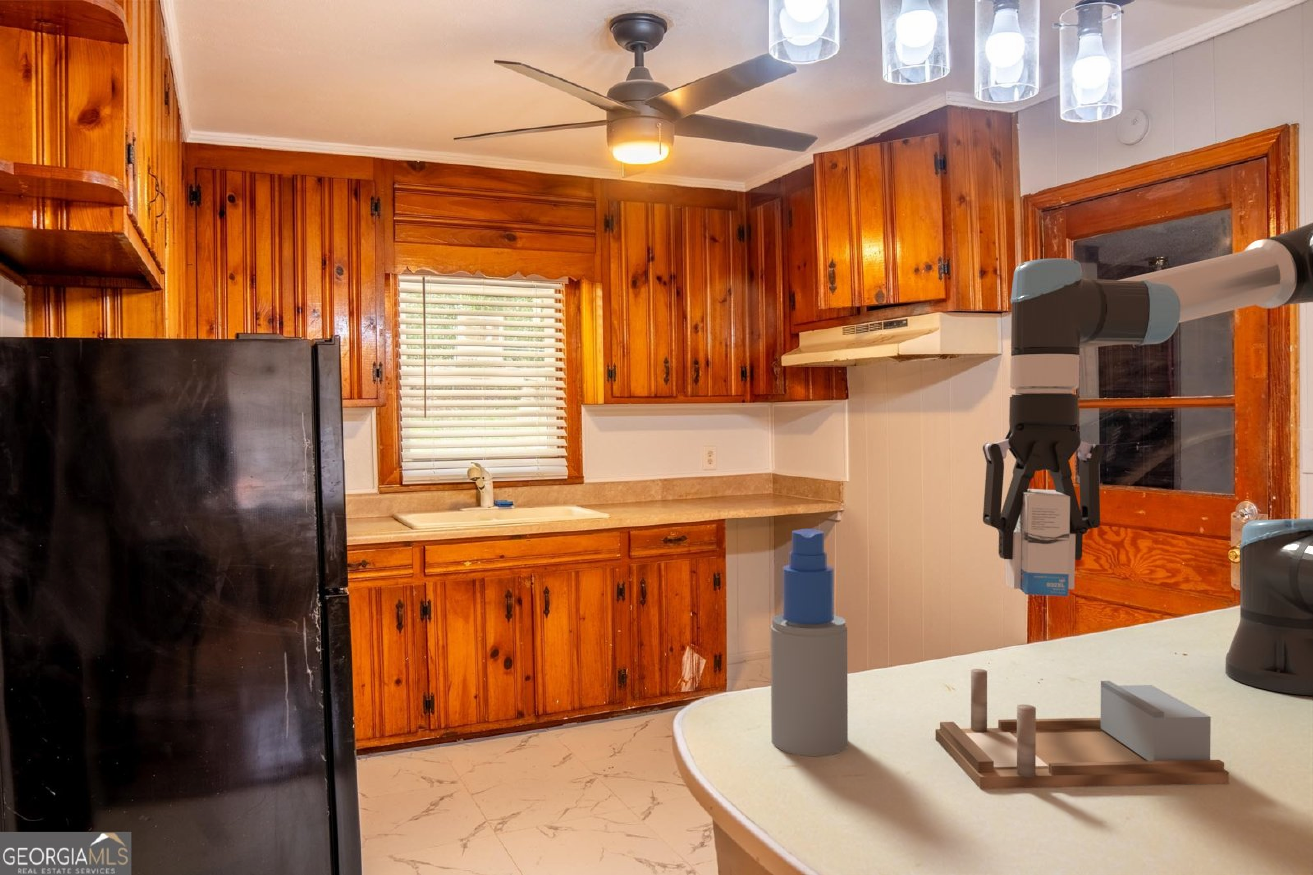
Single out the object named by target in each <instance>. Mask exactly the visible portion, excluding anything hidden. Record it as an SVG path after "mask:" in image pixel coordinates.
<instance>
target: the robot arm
mask: <svg viewBox="0 0 1313 875" xmlns="http://www.w3.org/2000/svg"><path fill="white" fill-rule="evenodd" d="M1011 285H1012V288H1011V295H1010V296H1011V297H1010V304H1011V316H1010V317H1011V322H1010V323H1011V330H1010V338H1011V339H1010V342H1011V344H1010V350H1011V352H1010V379H1009V380H1010V381H1009V382H1010V383H1009V386H1010V388H1011V389H1012V390H1014V391H1015V394H1011V396H1009V409H1008V410H1009V411H1008V412H1009V415H1008V417H1009V418H1008V419H1009V420H1008V424H1009V429H1008V432H1007V434H1006V436H1005V438H1004V439H1003V440H999V441H996V442H993V443H992V442H985V443H984V444H983V446H982V451H983V455H984V458H985V462H986V468H985V480H984V482H985V484H984V497H983V510H982V511H983V513H982V522H983V523H984V524H985V525H987V526H990V527H992V528H994V529H996V530H997V531H998V556H999V558H1000V559H1004V560H1005V580H1004V582H1005V585H1006V586H1007V587H1010V588H1012V589H1015V590H1016V589H1019V590H1021V589H1020V586H1021V542H1022V534H1021V533H1018V532H1015V531H1014V530H1015V528H1016V525H1017V522H1018V519H1019V516H1020V512H1021V509H1022V506H1023V492H1027V490H1028V489H1029V487H1030V484H1031V481H1032V480H1033V478H1034V476H1035V473H1036V472H1040V471H1044V470H1045V471H1048V473H1049V476H1050V477H1051V478H1052V481H1053V485H1054V490H1056V492H1060V493H1063V494H1065V495H1067V496H1070V532H1069V588H1068V590H1075V574H1076V573H1075V570H1076V561H1081V559H1082V557H1083V544H1084V543H1083V542H1084V540H1083V539H1084V537H1083V536H1084V535H1086V534H1087V533H1088V532H1089V530H1091V529H1098V528H1100V527H1099V526H1101V506H1100V505H1101V504H1100V503H1101V502H1100V501H1101V500H1100V499H1101V498H1100V497H1101V495H1100V463H1101V459H1102V456H1103V453H1104V451H1105V450H1104V447H1103V445H1101V444H1096V443H1095V444H1093V443H1089V442H1085V441H1082V440H1081V437H1080V435H1079V432H1078V429H1077V428H1078V424H1079V397H1078V396H1077V395H1078V394H1074V390H1078V388H1079V387H1080V349H1086V348H1096V347H1097V348H1098V347H1106V346H1107V347H1108V346H1115V345H1116V346H1117V345H1136V346H1144V345H1158V344H1162V343H1164V342H1165V341H1167V340H1168V339H1170V338H1171V337H1172V336H1173V334H1174V333H1175V332H1176V330H1177V328H1178V325H1179V324H1181V323H1184V322H1188V321H1192V320H1193V321H1194V320H1197V319H1201V318H1205V317H1209V316H1212V315H1213V316H1214V315H1217V314H1223V313H1225V312H1230V311H1231V312H1232V311H1234V310H1239V309H1244V308H1247V307H1252V306H1257V307H1259V308H1263V309H1274V308H1275V309H1276V308H1279V307H1282V306H1288V305H1297V304H1298V305H1299V304H1306V303H1307V304H1308V303H1313V222H1310V223H1308V224H1306V225H1303V226H1300V227H1296V228H1294V229H1292V230H1289V231H1286V232H1283V233H1280V234H1278V235H1274V236H1270V237H1267V238H1262V239H1259V240H1256V241H1253V242H1251V243H1250V244H1249V245H1248V246H1247V247H1246V248H1245V249H1244V250H1243V251H1239V252H1234V253H1230V254H1226V255H1222V256H1217V257H1213V258H1212V257H1211V258H1209V259H1204V260H1201V261H1196V262H1191V263H1187V264H1182V265H1178V266H1174V267H1171V268H1166V269H1165V268H1164V269H1160V270H1157V271H1152V272H1149V273H1143V274H1140V275H1136V276H1131V277H1127V278H1126V277H1125V278H1122V279H1118V280H1102V279H1101V280H1100V279H1099V280H1097V279H1096V280H1095V279H1094V280H1093V279H1088V278H1084V274H1083V270H1082V264H1081V263H1080V262H1079V261H1078V260H1076V259H1070V258H1060V257H1059V258H1058V257H1057V258H1042V259H1041V258H1040V259H1033V260H1028V261H1024V262H1022V263H1020V264H1019V265H1018V266H1017V267H1016V268H1015V270H1014V272H1013V279H1012V284H1011ZM1008 450H1009V452H1010V453H1011V454H1012V456H1013V457H1014V458H1015V463H1014V466H1013V469H1012V477H1011V480H1010V484H1009V488H1008V491H1007V494H1006V497H1005V500H1004V504H1003V502H1002V501H1003V488H1004V471H1005V461H1004V460H1005V459H1006V458H1007V453H1008V452H1007V451H1008ZM1076 451H1077V457H1078V459H1079V464H1078V466H1079V468H1078V469H1079V475H1078V476H1079V477H1078V478H1079V501H1078V496H1077V494H1076V490H1075V487H1074V482H1073V480H1072V476H1073V472H1072V468H1071V463H1070V460H1071V458H1072V457H1073V456H1074V454H1075V453H1076ZM1002 504H1003V506H1002ZM1238 548H1239V580H1240V581H1239V584H1240V585H1239V586H1240V587H1239V589H1240V590H1239V592H1240V593H1239V595H1240V596H1239V600H1240V604H1239V605H1240V608H1239V609H1240V610H1239V611H1240V612H1239V615H1240V617H1239V618H1240V619H1239V623H1238V626H1237V628H1236V631H1235V633H1234V636H1233V639H1232V641H1231V644H1230V646H1229V649H1228V652H1227V653H1226V656H1225V668H1224V669H1225V673H1226V675H1227V676H1229V678H1231V679H1233V680H1235V681H1237V682H1240V683H1243V684H1245V685H1248V686H1252V687H1254V688H1255V687H1256V688H1260V689H1263V690H1264V689H1265V690H1269V691H1272V692H1279V693H1284V694H1285V693H1286V694H1293V695H1300V696H1301V695H1302V696H1312V697H1313V518H1286V519H1285V518H1282V519H1257V520H1256V519H1253V520H1250V521H1248V522H1247V523H1245V524H1244V525H1243V527H1242V530H1241V541H1240V545H1239V547H1238Z"/></svg>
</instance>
